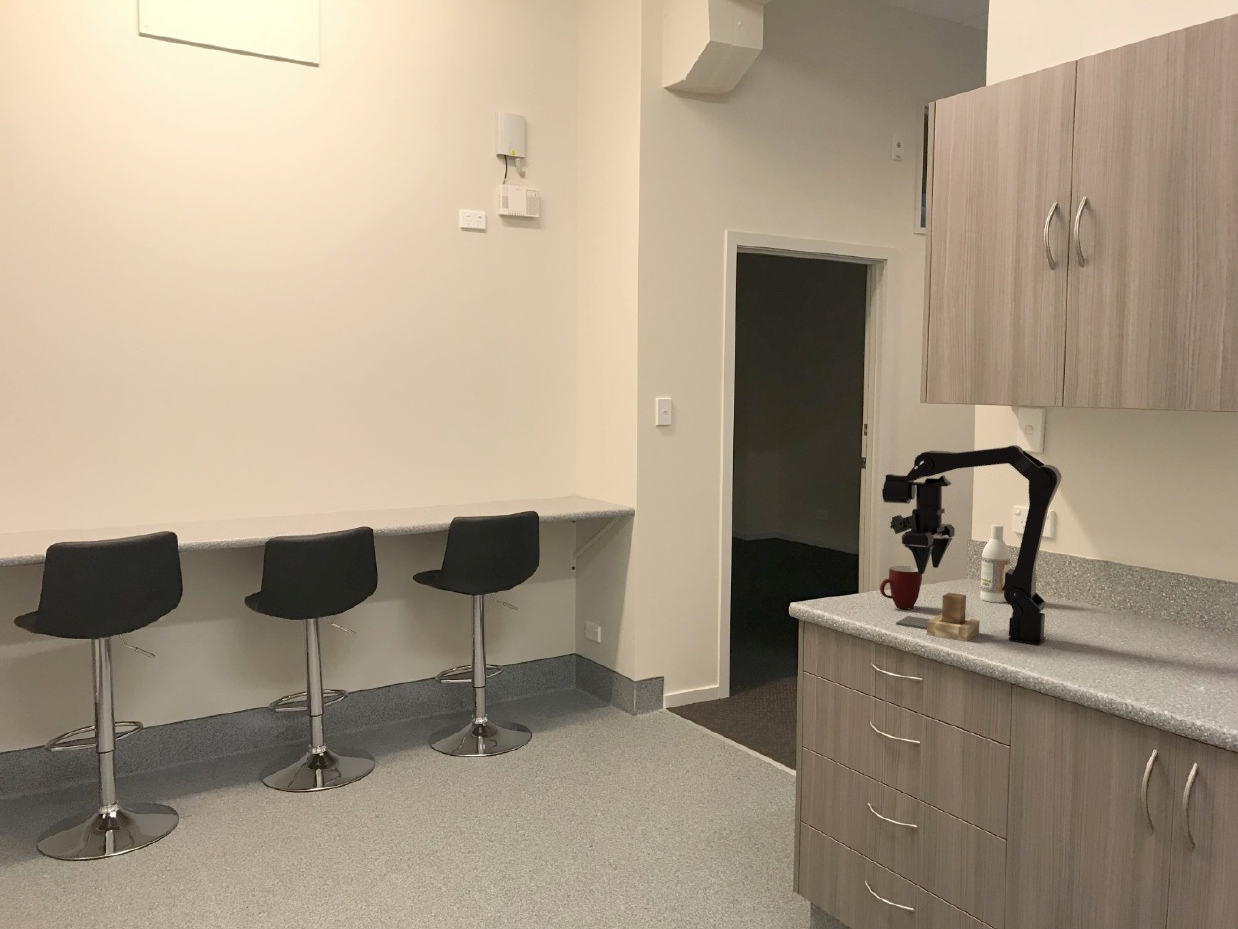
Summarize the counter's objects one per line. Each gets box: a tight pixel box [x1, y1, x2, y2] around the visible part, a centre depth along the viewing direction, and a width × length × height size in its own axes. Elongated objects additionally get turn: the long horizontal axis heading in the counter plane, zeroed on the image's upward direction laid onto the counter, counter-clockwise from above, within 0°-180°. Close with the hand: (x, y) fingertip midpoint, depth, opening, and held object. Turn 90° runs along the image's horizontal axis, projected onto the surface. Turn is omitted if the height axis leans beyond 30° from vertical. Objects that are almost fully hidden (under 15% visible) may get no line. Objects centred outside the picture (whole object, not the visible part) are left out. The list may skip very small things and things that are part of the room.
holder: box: [926, 613, 980, 642], centre depth 225 cm, size 9×9×3 cm
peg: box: [941, 592, 967, 625], centre depth 225 cm, size 4×4×9 cm
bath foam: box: [979, 524, 1011, 604], centre depth 258 cm, size 7×7×20 cm
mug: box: [879, 565, 923, 610], centre depth 250 cm, size 11×8×10 cm
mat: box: [895, 615, 931, 630], centre depth 234 cm, size 8×8×1 cm
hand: (928, 570), depth 231 cm, fingers open, 9 cm apart
